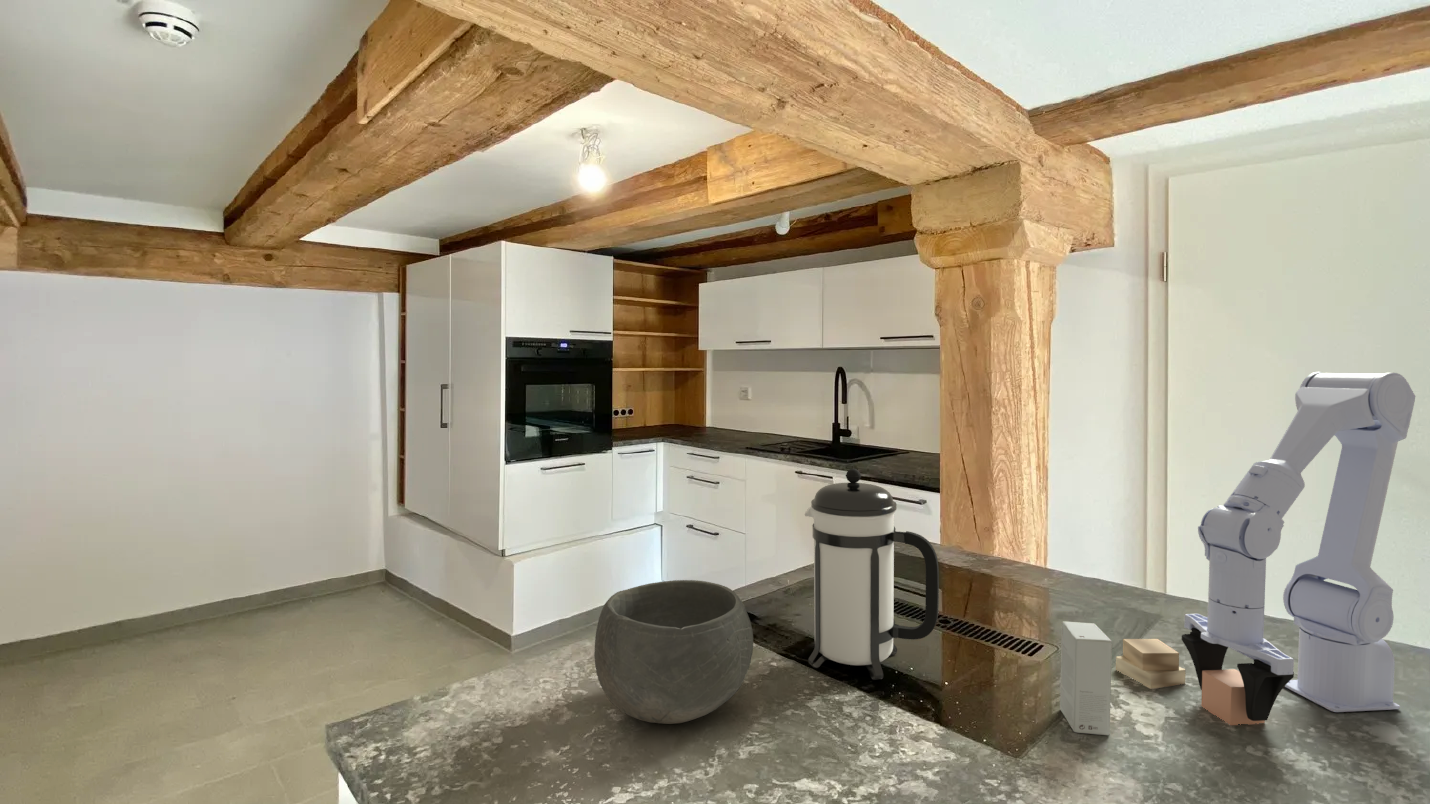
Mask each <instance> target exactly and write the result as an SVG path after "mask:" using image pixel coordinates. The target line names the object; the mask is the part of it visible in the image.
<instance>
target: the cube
mask: <svg viewBox="0 0 1430 804" xmlns="http://www.w3.org/2000/svg"><path fill="white" fill-rule="evenodd" d="M1200 706H1202V707H1203V708H1202V707H1201V708H1202V709H1204V708H1205V709H1206V711H1207V710H1208V711H1207V712H1208V713H1211V714H1212V715H1214V716H1215V715H1216V716H1217V717H1216V716H1215V717H1216V718H1218V717H1219V718H1220V720H1221V719H1222V720H1221V721H1223V720H1224V721H1225V722H1224V721H1223V722H1224V723H1226V722H1227V723H1228V724H1227V723H1226V724H1227V725H1229V724H1230V725H1229V726H1242V725H1241V724H1248V725H1260V724H1259V723H1265V724H1266V722H1265V721H1266V720H1264V721H1252V720H1250V719H1248V717H1247V713H1246V699H1245V688H1244V684H1243V680H1242V677H1241V674H1240V672H1239V669H1235V668H1234V669H1233V668H1231V669H1229V668H1228V669H1222V670H1205V671H1202V690H1201V705H1200ZM1205 709H1204V710H1205ZM1219 718H1218V719H1219ZM1255 723H1257V724H1255ZM1238 724H1240V725H1238Z"/></svg>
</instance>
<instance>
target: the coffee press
mask: <svg viewBox="0 0 1430 804" xmlns="http://www.w3.org/2000/svg"><path fill="white" fill-rule="evenodd" d="M845 477H846V479H847V481H848V482H838V483H836V482H835V483H832V484H827V485H825V486H823V487H821V488H820V489H818V491H817V492H816V493H815V496H814V498H813V499H812V500H811V502H810V503H811V504H810V505H811V506H810V507H808V509H807V510H806V511H805V513H804V516H805V517H808V518H810V517H811V518H813V524H812V525H811V526H812V539H813V550H814V551H813V553H814V554H813V563H814V564H813V567H814V569H813V572H814V573H813V574H814V575H813V578H814V579H813V580H814V581H813V583H814V584H813V585H814V586H813V589H814V590H813V591H814V592H813V593H814V595H813V600H814V604H813V607H814V608H813V609H814V613H813V615H814V617H813V618H814V621H813V622H814V649H813V651H812V652H811V654H810V655H809V657H808V659H807V660H808V664H809V665H810V666H811V667H812V668H814V669H819V668H820V667H821V666H822V665H823V663H824V662H826V661H827V660H830V661H833V662H836V663H839V664H843V665H848V666H849V665H850V666H865V667H866V668H867V671H868V673H869V676H870V678H871V681H872V680H873V681H876V680H877V681H878V680H882V679H883V678H884V671H883V669H882V665H881V663H882V662H883V661H885V660H887V659H888V658H889V656H895V655H896V654H897V653H898V648H897V646H896V644H895V643H894V639H903V640H920V639H924V638H926V637H927V636H929V635H930V634H932V631H934V629H935V627H936V625H937V623H938V622H937V621H938V618H939V617H938V616H939V601H940V600H939V599H940V597H939V596H940V594H939V592H940V590H939V589H940V587H939V585H940V584H939V583H940V580H939V579H940V578H939V576H940V575H939V574H940V573H939V562H938V561H939V560H938V556H937V552H936V549H935V548H934V546H933V545H932V544H931V542H930V541H929V540H928V539H927V538H926V537H924V536H922V535H921V534H919V533H917V532H913V531H907V530H906V531H896V527H895V525H894V524H895V522H894V521H895V518H894V517H895V512H896V511H897V507H898V506H897V503H896V501H895V500H894V499H893V496H892V493H890V492H889V491H888V490H887V489H886V488H884V487H882V486H879V485H876V484H872V483H865V482H859V481H860V479H861V477H862V475H861V472H860V471H859V470H858V469H857V468H851V469H848V470H847V471H846V474H845ZM895 542H896V543H903V544H905V545H910V546H913V547H914V548H916V549H917V550H919V552H920V553H921V554H922V557H923V559H924V564H925V606H924V607H925V611H924V620H923V621H922V622H921V624H919V625H917V626H906V625H905V626H904V625H900V624H896V621H895V619H894V612H895V611H894V609H895V608H894V603H895V602H894V599H895V598H894V597H895V596H894V593H895V592H894V587H895V585H894V579H895V577H894V576H895V575H894V574H895V573H894V571H895V567H894V566H895V565H894V564H895V563H894V562H895V560H894V559H895V552H894V551H895V549H894V548H895V547H894V545H895ZM819 653H820V654H821V656H820V657H818V656H819ZM817 657H818V659H817ZM816 659H817V660H816ZM815 660H816V661H815Z"/></svg>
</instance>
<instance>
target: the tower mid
mask: <svg viewBox="0 0 1430 804" xmlns="http://www.w3.org/2000/svg"><path fill="white" fill-rule="evenodd" d="M1122 656H1125V657H1126V658H1127V659H1128V660H1130V661H1131V662H1132V663H1134V664H1135V665H1136V666H1137V667H1139V668H1140V669H1141V670H1179V667H1180V652H1178V651H1177V650H1175V649H1174V648H1173V647H1171V646H1169V645H1168V644H1166V643H1164V642H1163V641H1161V640H1160V639H1159V638H1123V639H1122Z"/></svg>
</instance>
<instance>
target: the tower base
mask: <svg viewBox="0 0 1430 804" xmlns="http://www.w3.org/2000/svg"><path fill="white" fill-rule="evenodd" d="M1116 670H1117V671H1116ZM1115 671H1116V672H1118V671H1119V672H1118V673H1120V672H1121V673H1120V674H1122V675H1124V676H1125V675H1127V676H1129V677H1131V678H1133V679H1134V680H1133V679H1132V680H1133V681H1135V680H1136V681H1135V682H1137V681H1138V682H1140V683H1142V684H1143V685H1142V684H1141V685H1142V686H1145V687H1147V688H1148V689H1150V690H1153V689H1154V690H1155V689H1159V688H1167V687H1172V686H1179V685H1180V684H1181V685H1186V668H1183V667H1181V666H1179V670H1141V669H1140V668H1139V667H1137V666H1136V665H1135V664H1134V663H1132V662H1131V661H1130V660H1128V659H1127V658H1126V657H1125V656H1123V655H1119V656H1115ZM1127 676H1126V677H1127ZM1129 677H1128V678H1129ZM1131 678H1130V679H1131ZM1138 682H1137V683H1138ZM1140 683H1139V684H1140Z"/></svg>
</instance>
